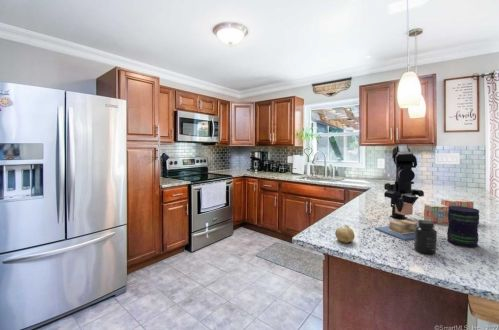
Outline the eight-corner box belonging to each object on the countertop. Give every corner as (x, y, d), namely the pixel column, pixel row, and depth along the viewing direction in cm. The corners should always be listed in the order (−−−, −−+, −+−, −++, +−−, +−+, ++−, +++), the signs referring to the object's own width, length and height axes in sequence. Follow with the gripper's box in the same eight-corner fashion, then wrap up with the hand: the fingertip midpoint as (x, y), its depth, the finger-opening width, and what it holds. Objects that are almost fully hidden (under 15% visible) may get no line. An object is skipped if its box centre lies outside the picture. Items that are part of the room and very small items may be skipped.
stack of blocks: (431, 223, 127) (431, 201, 127) (423, 220, 133) (424, 198, 133) (473, 223, 126) (474, 201, 125) (463, 220, 132) (464, 199, 131)
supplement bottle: (409, 248, 94) (410, 219, 94) (425, 247, 95) (426, 218, 94) (424, 256, 87) (425, 224, 87) (440, 255, 88) (442, 223, 87)
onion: (356, 245, 98) (357, 228, 98) (337, 244, 99) (337, 227, 99) (351, 238, 106) (352, 223, 106) (333, 237, 107) (333, 222, 107)
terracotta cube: (402, 211, 116) (402, 201, 115) (412, 214, 111) (412, 203, 110) (394, 212, 114) (395, 202, 114) (404, 215, 109) (404, 204, 109)
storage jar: (471, 250, 92) (473, 212, 92) (442, 241, 101) (443, 207, 100) (482, 245, 97) (484, 209, 96) (453, 237, 106) (454, 205, 105)
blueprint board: (401, 225, 123) (401, 223, 123) (433, 235, 108) (433, 234, 108) (374, 229, 118) (374, 227, 118) (404, 240, 103) (404, 238, 102)
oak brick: (405, 227, 117) (405, 219, 117) (416, 231, 111) (417, 223, 111) (389, 229, 114) (389, 221, 114) (400, 233, 109) (400, 225, 108)
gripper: (403, 176, 122) (402, 206, 123) (375, 178, 116) (374, 209, 117) (425, 179, 111) (424, 211, 112) (395, 180, 106) (394, 214, 107)
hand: (403, 211), depth 112 cm, fingers closed on terracotta cube, 5 cm apart
